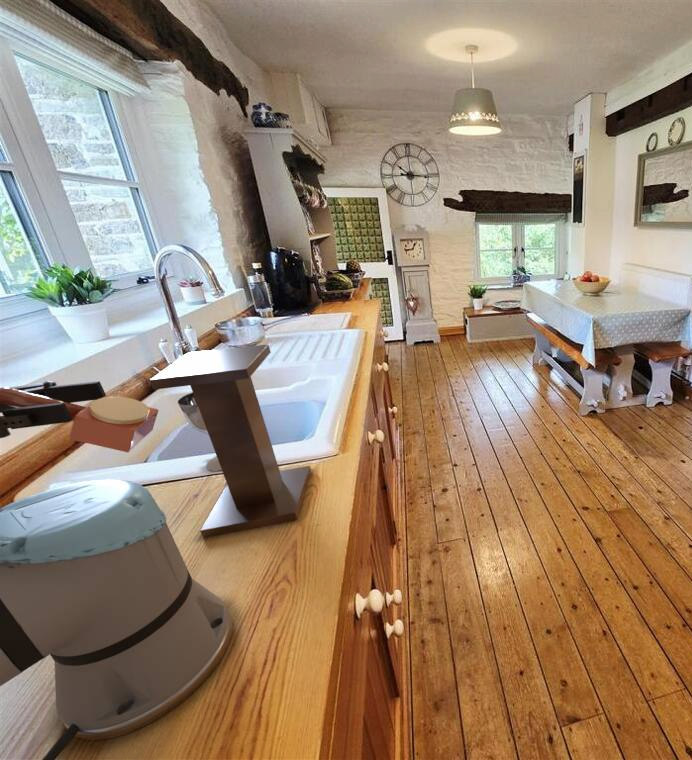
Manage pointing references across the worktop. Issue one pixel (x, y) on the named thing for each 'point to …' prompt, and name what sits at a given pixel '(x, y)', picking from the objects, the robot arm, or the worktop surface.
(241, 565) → the worktop surface
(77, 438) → the reddish brown long piece
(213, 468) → the wine glass
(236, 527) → the stand
